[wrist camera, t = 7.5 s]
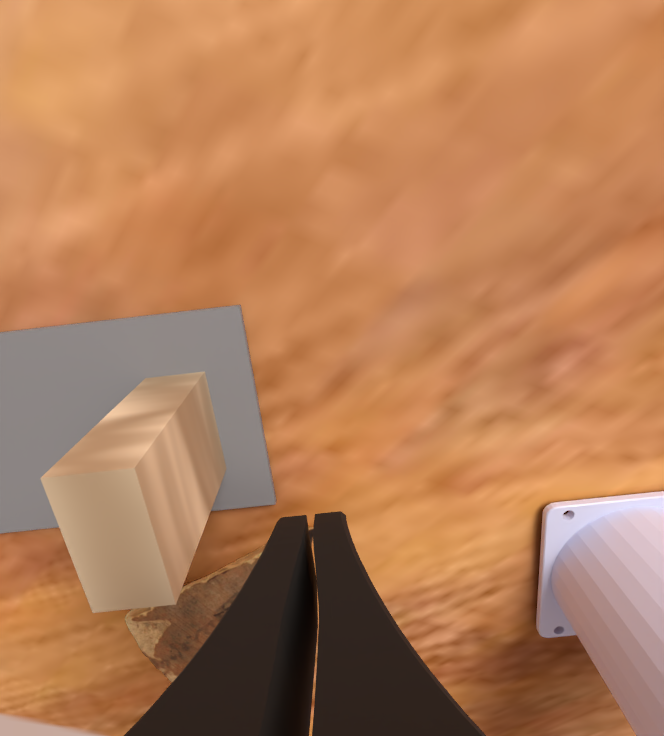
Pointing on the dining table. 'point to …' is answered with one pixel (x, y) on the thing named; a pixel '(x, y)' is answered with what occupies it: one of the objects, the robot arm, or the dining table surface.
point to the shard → (189, 616)
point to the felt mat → (109, 387)
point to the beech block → (140, 493)
